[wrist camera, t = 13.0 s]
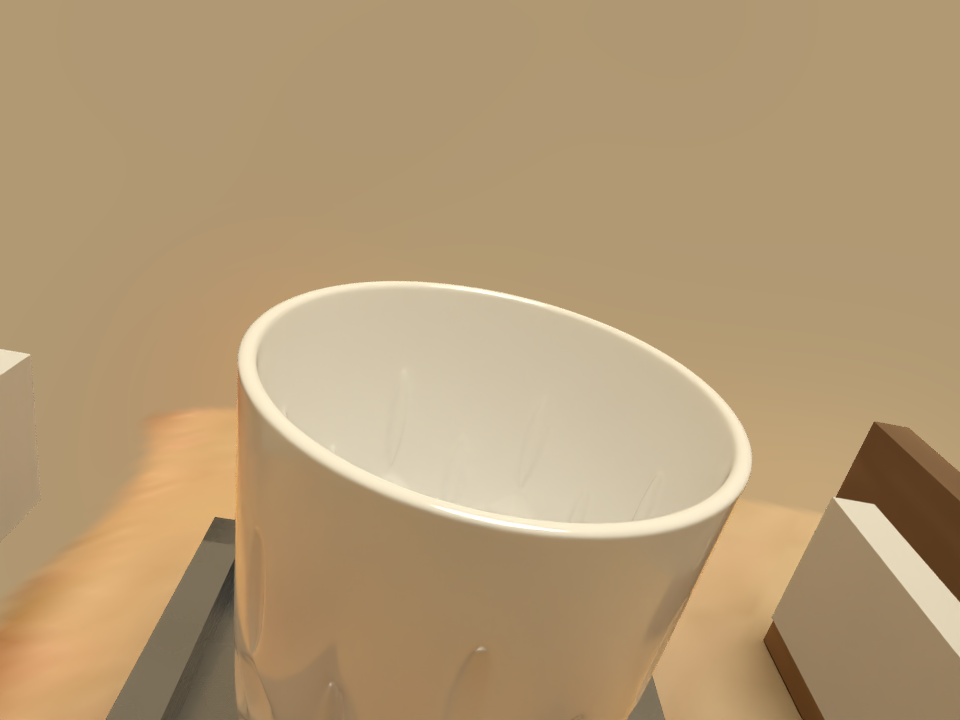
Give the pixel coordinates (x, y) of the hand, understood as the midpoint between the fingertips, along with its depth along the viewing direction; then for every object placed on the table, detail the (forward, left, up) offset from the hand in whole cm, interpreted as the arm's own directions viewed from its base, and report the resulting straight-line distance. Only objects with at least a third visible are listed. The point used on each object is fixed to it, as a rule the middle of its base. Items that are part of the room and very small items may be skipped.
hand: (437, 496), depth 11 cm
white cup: (-1, 0, -8) cm, 8 cm away
